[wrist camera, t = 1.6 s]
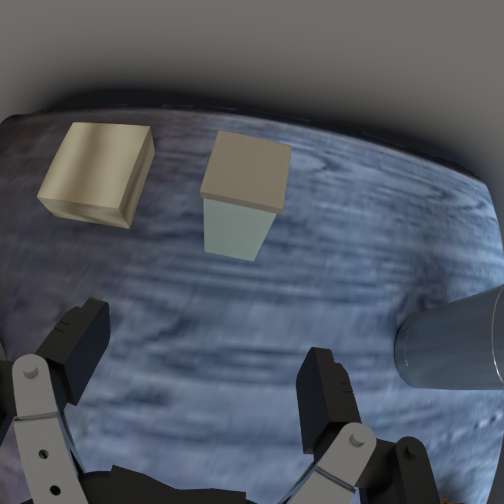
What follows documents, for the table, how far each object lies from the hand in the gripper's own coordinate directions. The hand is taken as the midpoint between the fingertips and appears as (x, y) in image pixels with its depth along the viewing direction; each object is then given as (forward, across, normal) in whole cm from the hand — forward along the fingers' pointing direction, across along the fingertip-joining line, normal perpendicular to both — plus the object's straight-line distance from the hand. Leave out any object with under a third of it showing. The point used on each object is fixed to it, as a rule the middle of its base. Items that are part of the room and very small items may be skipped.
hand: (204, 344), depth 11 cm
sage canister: (+21, 0, +4) cm, 21 cm away
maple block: (+23, +16, +2) cm, 28 cm away
